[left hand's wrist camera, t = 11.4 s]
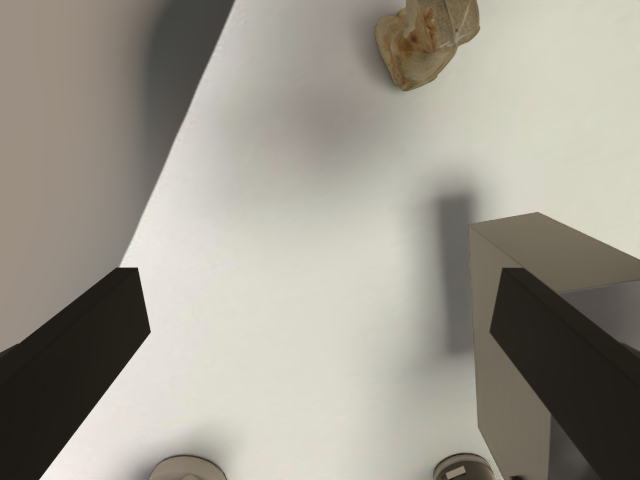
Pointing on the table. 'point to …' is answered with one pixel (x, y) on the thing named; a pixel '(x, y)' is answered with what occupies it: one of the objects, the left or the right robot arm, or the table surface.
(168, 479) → the bust sculpture
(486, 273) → the box
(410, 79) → the sculpture
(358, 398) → the table surface
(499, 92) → the table surface
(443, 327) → the table surface
